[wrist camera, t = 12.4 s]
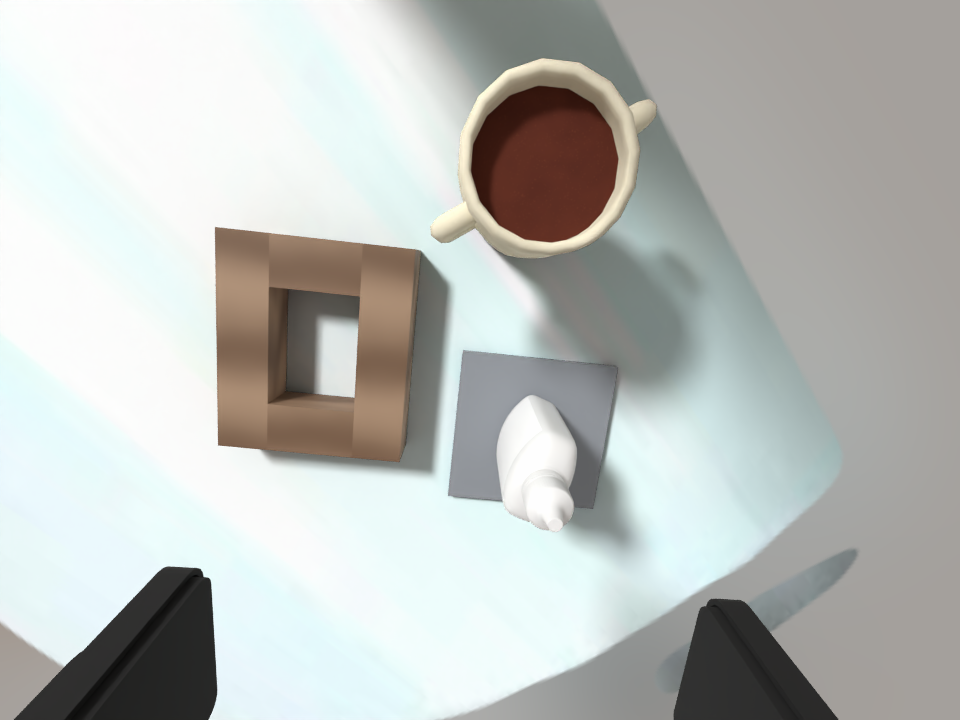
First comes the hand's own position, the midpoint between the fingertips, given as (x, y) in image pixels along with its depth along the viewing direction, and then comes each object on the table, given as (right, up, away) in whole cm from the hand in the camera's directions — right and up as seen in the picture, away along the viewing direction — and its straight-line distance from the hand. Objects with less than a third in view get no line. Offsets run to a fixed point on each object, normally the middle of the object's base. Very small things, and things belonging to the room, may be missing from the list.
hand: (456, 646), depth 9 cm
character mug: (+3, +16, +21) cm, 27 cm away
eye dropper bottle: (+4, 0, +24) cm, 24 cm away
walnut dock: (-10, +7, +23) cm, 26 cm away
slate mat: (+4, 0, +25) cm, 25 cm away
